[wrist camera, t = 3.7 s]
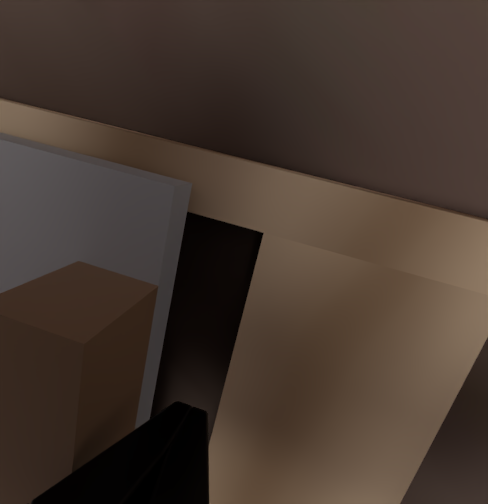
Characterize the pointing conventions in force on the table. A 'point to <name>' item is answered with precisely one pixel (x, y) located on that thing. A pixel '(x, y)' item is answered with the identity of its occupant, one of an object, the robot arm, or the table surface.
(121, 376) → the sliding lid
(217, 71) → the table surface
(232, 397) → the puzzle board
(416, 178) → the table surface
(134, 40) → the table surface
